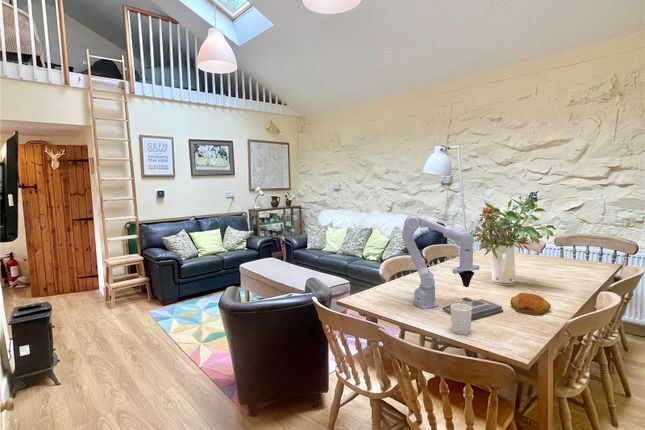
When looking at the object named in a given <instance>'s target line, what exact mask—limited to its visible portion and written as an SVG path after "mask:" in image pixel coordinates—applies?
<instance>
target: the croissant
mask: <svg viewBox="0 0 645 430" xmlns="http://www.w3.org/2000/svg"><path fill="white" fill-rule="evenodd" d="M510 306H511V308H513V309H514V310H515V311H516V312H519V313H522V314H527V315H531V316H535V315H536V316H538V315H539V316H543V315H545V314H546V313H548V312H549V311H550V310H551V307H552V306H551V304H550V303H549V301H547V300H546V299H545V298H544V297H543V296H540V295H539V294H534V293H529V292H528V293H525V292H520V293H518V294H517V295H515V296H513V297H511V298H510Z"/></svg>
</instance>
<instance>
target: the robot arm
mask: <svg viewBox="0 0 645 430" xmlns="http://www.w3.org/2000/svg"><path fill="white" fill-rule="evenodd" d="M402 227H403V229H402V233H401V238H402V241H403V243H404V245H405V247H406V249H407V252H408V254H409V255H410V258H411V260H412V261H413V264H414V266H415V268H416V270H417V273H418V276H419V278H420V284H419V287H418V288H416V289H414V297H413V298H414V299H413V300H414V301H413V305H415V306H417V307H419V308H421V309H423V310H427V309H429V308H434V307H439V306H440V303H437V302H436V285H435V283H436V282H435V279H434V274H433V273H432V272H431V271H430V270H429V269H428V267H427V264H426V262H425V260H424V259H423V256H422V254H421V252H420V250H419V248H418V246H417V244H416V241H415V239H414V234H415V232H416V231H417V230H418V229H419V227H420V229H423V228H428V229H431V230H434V231H436V232H439V233H441V234H442V235H443V237H444V238H446V239H450V240H452V241H454V242H456V243H457V242H458V243H459V266H458V267H455V268H453V269H452V274H455V275H457V274H459V277H460V279H461V282H462V285H463V287H465V288H469V287H470V283H471V281H472V278H473V276H474V275H475V270H476V271H477V270H478V271H479V270H480V265H479V264H474V262H473V261H474V247H473V246H474V245H473V244H474V243H475V239H474V236H473V235H472V234H471V233H470V232H469V231H466V230H465V229H460V228H457V227H456V226H455V225H453V224H452V225H450V224H449V225H446V226H444V225H442V224H440V223H437V222H435V221H433V220H430V219H428V218H425V217H422V216H417V215H415V214H409V215H408V216H407V217H406V219H405V220H404V222H403V226H402Z"/></svg>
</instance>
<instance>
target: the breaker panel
mask: <svg viewBox="0 0 645 430" xmlns="http://www.w3.org/2000/svg"><path fill="white" fill-rule="evenodd" d="M472 300H473V301H472V317H471V318H473V317H477V316H480V315H484V314H488V313H491V312H495V311H499V310H503V305H500V304H497V303H494V302H492V301H488V300H486V299H484V298H482V299H478V300H477V299H472ZM460 304H462V302H460ZM443 312H444V313H446V314H448V315H450V316H451V307H448V308H444V310H443Z"/></svg>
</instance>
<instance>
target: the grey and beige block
mask: <svg viewBox="0 0 645 430" xmlns="http://www.w3.org/2000/svg"><path fill="white" fill-rule="evenodd" d="M473 300H474V299H472V298H469V297H462V298H461V303H462V304H466V305H469V306H471V307H472V301H473Z"/></svg>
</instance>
